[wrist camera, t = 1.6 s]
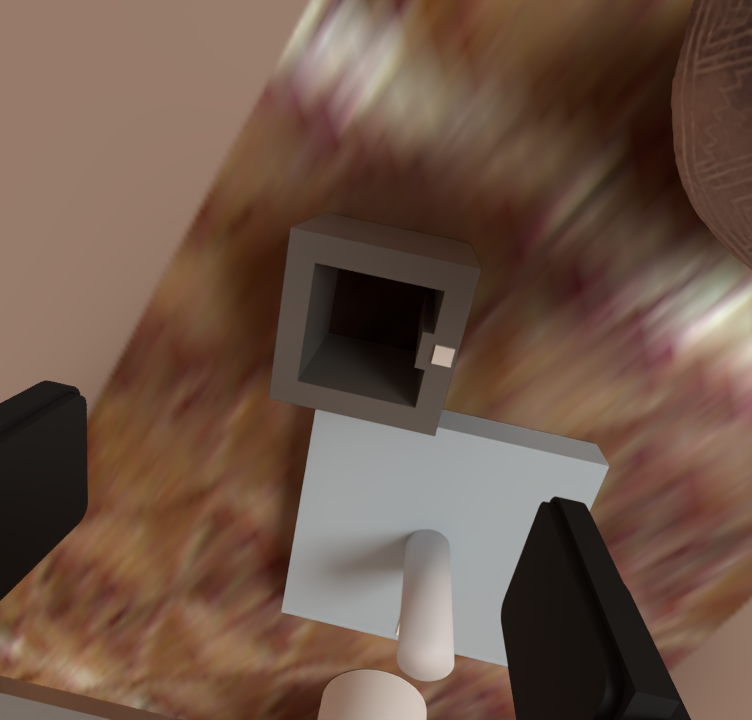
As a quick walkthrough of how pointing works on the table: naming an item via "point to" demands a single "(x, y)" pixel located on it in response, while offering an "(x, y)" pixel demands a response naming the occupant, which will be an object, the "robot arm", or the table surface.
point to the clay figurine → (717, 120)
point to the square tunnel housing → (362, 358)
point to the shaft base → (425, 529)
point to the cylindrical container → (371, 698)
